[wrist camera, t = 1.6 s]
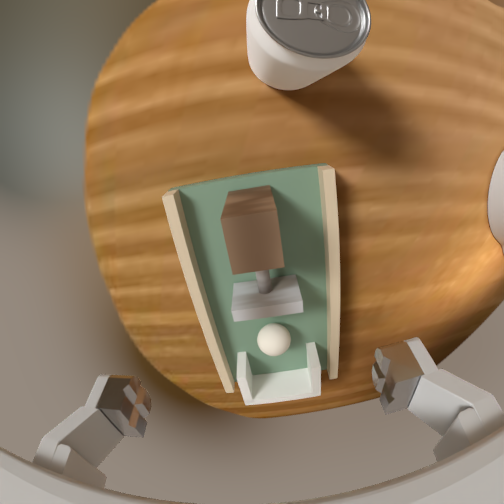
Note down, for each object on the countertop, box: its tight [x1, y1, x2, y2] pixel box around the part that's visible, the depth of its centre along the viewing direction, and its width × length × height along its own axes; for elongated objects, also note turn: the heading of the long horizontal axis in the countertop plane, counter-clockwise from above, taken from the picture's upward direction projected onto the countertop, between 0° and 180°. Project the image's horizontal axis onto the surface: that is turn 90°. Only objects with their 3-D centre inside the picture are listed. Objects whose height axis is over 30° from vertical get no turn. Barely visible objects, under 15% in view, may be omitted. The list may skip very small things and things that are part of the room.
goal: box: [236, 342, 321, 405], centre depth 31 cm, size 9×6×4 cm, turn 99°
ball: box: [257, 323, 291, 356], centre depth 29 cm, size 4×4×4 cm
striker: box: [220, 185, 303, 322], centre depth 23 cm, size 6×10×7 cm, turn 9°
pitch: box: [162, 163, 340, 393], centre depth 29 cm, size 14×25×3 cm, turn 9°
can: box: [246, 0, 371, 90], centre depth 15 cm, size 6×6×12 cm
